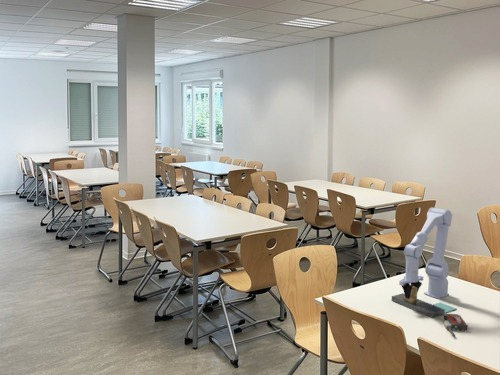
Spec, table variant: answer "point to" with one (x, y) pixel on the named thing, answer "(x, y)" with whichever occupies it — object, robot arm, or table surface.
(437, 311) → the rack frame
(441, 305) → the teal mat
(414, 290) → the oak peg
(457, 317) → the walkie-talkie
